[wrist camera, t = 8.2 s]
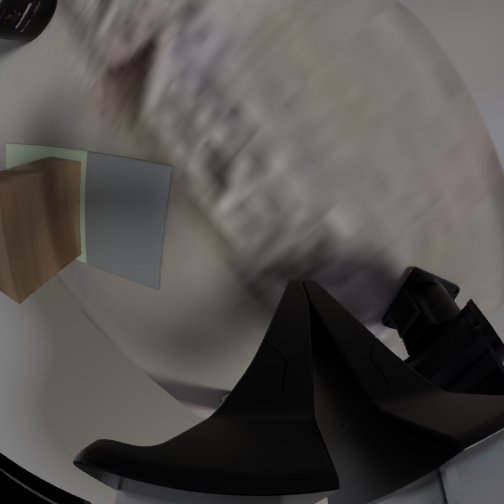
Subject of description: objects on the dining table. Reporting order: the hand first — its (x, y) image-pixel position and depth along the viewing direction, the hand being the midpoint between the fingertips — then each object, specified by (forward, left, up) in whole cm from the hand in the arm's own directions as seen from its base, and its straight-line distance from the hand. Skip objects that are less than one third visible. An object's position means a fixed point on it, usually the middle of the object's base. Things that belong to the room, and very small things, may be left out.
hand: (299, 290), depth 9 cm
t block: (+26, +8, -13) cm, 30 cm away
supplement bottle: (+34, -14, -13) cm, 39 cm away
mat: (+22, +7, -13) cm, 27 cm away
